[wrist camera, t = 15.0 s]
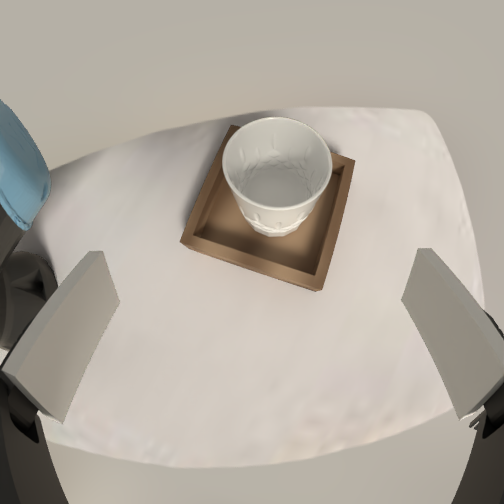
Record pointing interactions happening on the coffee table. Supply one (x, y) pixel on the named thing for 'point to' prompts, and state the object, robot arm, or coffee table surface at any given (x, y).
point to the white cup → (276, 173)
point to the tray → (259, 245)
